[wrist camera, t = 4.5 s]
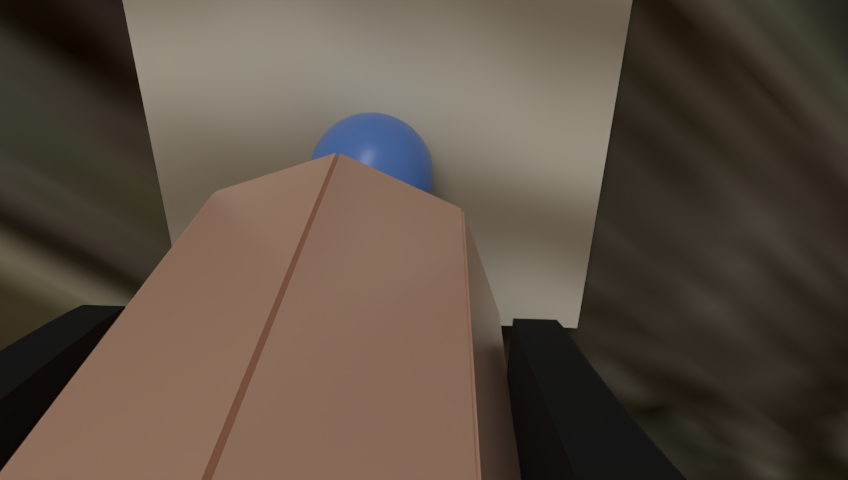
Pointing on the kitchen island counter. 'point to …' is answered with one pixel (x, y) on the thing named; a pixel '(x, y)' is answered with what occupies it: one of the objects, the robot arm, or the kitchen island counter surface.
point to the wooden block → (296, 347)
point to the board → (401, 111)
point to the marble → (381, 147)
